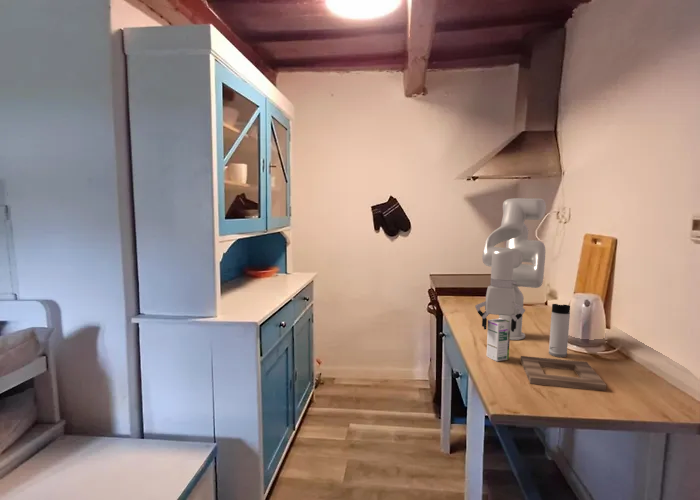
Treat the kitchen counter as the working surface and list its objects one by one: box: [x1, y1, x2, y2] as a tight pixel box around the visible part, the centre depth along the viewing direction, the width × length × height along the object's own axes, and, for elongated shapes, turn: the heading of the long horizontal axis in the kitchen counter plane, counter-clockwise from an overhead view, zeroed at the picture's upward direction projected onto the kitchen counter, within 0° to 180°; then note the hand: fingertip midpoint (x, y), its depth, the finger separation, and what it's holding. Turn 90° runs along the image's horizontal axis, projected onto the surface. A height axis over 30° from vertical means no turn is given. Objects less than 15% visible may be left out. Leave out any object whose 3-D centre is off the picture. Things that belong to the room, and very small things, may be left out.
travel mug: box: [548, 303, 571, 358], centre depth 166 cm, size 6×7×20 cm
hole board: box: [520, 355, 607, 392], centre depth 147 cm, size 20×22×2 cm
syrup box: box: [486, 317, 510, 362], centre depth 161 cm, size 6×6×14 cm
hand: (498, 329), depth 160 cm, fingers open, 9 cm apart
